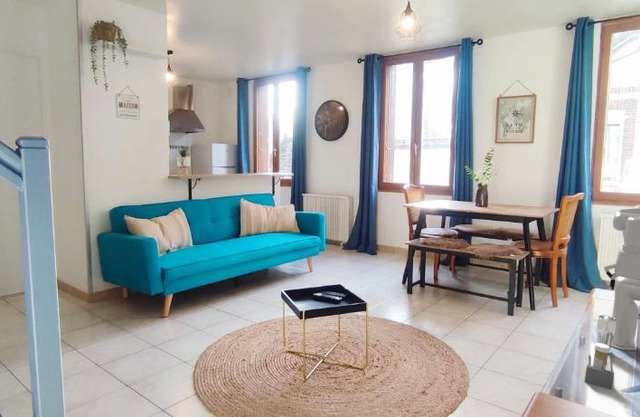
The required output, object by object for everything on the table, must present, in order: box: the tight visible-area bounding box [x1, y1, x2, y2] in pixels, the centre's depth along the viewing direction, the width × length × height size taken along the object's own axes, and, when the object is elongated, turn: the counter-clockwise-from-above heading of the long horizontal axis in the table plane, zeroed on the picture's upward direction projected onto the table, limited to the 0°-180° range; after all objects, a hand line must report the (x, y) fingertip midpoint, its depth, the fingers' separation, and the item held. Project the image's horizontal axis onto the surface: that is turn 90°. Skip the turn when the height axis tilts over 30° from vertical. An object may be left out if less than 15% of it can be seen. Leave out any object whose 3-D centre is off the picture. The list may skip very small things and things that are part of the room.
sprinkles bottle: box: [592, 343, 610, 370], centre depth 163 cm, size 5×5×13 cm
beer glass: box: [594, 314, 617, 355], centre depth 186 cm, size 7×7×15 cm
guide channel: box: [584, 350, 615, 390], centre depth 170 cm, size 27×8×6 cm, turn 148°
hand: (627, 291), depth 167 cm, fingers open, 9 cm apart
